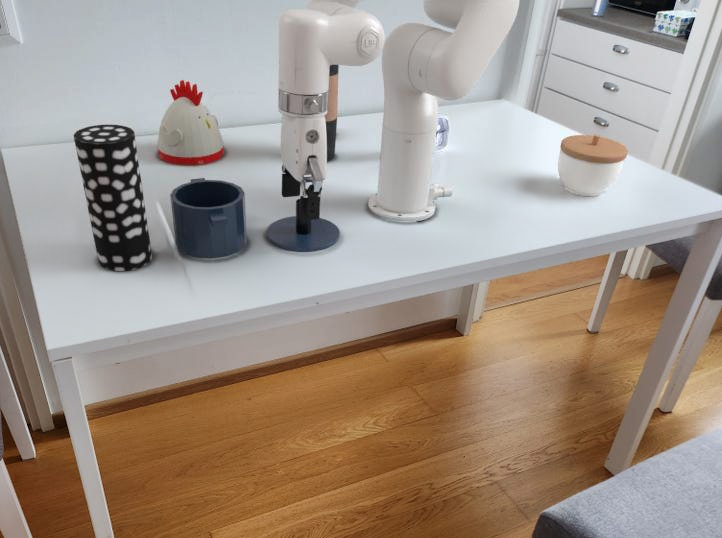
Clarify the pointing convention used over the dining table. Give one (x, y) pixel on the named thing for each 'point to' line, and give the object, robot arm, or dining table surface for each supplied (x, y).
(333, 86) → the travel mug
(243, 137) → the dining table surface
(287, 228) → the lid
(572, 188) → the lidded bowl
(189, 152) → the kitchen timer
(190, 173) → the dining table surface
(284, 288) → the dining table surface
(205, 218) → the pot
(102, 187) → the spotted tube
